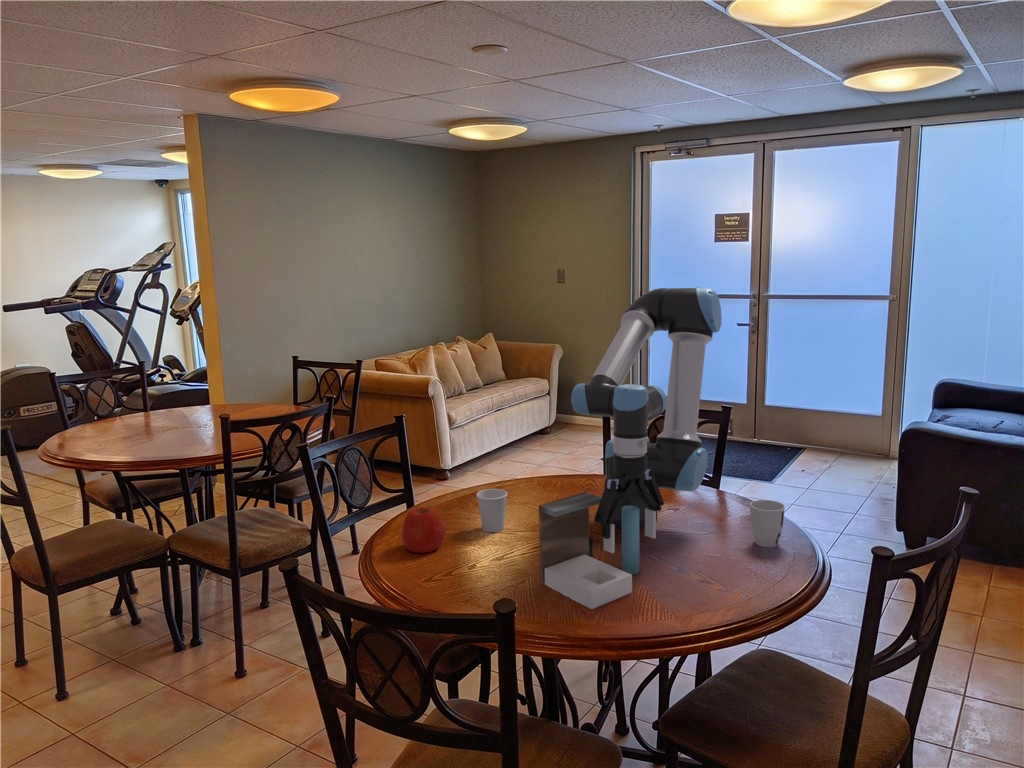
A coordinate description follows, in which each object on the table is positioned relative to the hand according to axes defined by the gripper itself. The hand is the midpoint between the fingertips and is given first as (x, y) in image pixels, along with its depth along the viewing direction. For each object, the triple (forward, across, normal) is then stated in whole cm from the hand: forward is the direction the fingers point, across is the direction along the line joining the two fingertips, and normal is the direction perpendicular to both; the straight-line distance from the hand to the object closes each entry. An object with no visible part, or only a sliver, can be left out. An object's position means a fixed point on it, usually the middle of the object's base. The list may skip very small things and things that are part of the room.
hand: (630, 543), depth 169 cm
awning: (+7, -13, +6) cm, 16 cm away
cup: (+6, +37, -11) cm, 39 cm away
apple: (+7, -29, +44) cm, 53 cm away
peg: (+7, 0, 0) cm, 7 cm away
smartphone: (+7, -1, +17) cm, 19 cm away
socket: (+7, -14, 0) cm, 15 cm away
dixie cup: (+7, -8, +43) cm, 44 cm away
